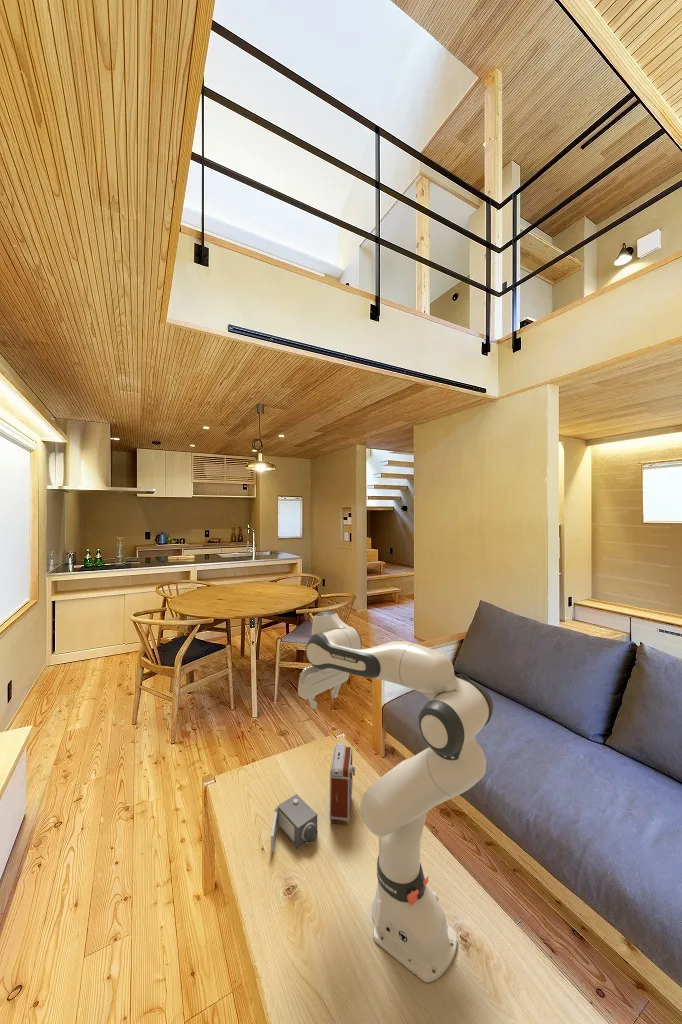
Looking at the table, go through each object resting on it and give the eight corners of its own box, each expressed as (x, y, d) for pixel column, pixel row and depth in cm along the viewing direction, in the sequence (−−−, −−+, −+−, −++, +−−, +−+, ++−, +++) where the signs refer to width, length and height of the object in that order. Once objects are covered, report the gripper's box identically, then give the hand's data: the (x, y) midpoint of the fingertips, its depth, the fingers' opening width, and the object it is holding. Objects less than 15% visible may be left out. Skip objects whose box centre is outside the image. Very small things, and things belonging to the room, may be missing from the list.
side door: (273, 853, 118) (273, 834, 118) (270, 853, 118) (270, 834, 118) (277, 824, 129) (278, 807, 129) (275, 825, 129) (275, 807, 129)
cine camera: (355, 785, 148) (356, 736, 148) (352, 827, 129) (353, 770, 128) (332, 784, 149) (333, 734, 149) (326, 825, 130) (326, 768, 129)
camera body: (321, 839, 124) (321, 817, 124) (302, 854, 119) (302, 831, 118) (296, 813, 135) (296, 792, 135) (277, 825, 129) (277, 804, 129)
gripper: (306, 673, 113) (306, 718, 114) (352, 654, 128) (352, 694, 128) (293, 666, 118) (293, 710, 118) (339, 649, 132) (339, 688, 133)
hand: (324, 702), depth 123 cm, fingers open, 8 cm apart
